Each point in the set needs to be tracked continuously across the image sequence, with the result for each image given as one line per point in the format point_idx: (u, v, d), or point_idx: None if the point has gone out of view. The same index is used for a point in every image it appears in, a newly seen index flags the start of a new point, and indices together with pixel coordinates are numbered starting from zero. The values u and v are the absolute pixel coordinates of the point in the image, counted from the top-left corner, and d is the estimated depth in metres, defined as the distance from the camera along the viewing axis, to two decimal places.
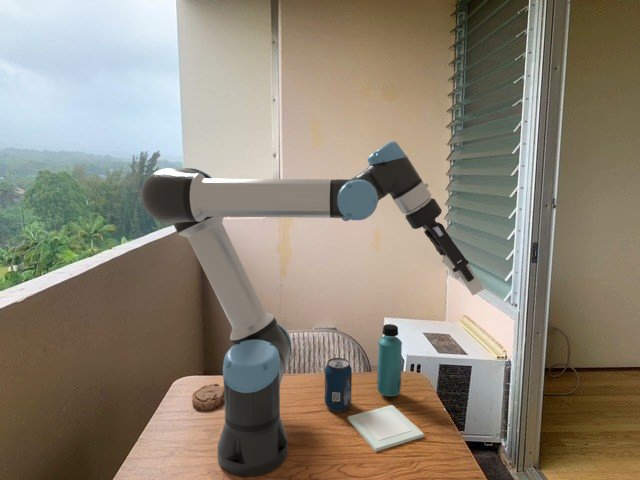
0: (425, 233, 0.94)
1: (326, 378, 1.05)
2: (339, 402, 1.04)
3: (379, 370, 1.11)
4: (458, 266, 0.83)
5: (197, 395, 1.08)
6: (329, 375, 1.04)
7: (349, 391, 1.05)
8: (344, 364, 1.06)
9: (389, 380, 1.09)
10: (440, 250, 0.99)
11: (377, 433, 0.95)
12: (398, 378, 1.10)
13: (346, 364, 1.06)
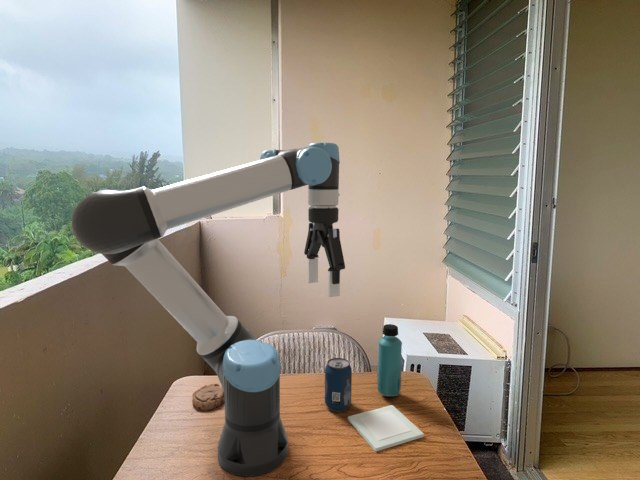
0: (315, 231, 1.04)
1: (326, 378, 1.05)
2: (339, 402, 1.04)
3: (379, 370, 1.11)
4: (337, 267, 0.96)
5: (197, 395, 1.08)
6: (329, 375, 1.04)
7: (349, 391, 1.05)
8: (344, 364, 1.06)
9: (389, 380, 1.09)
10: (311, 253, 1.10)
11: (377, 433, 0.95)
12: (398, 378, 1.10)
13: (346, 364, 1.06)
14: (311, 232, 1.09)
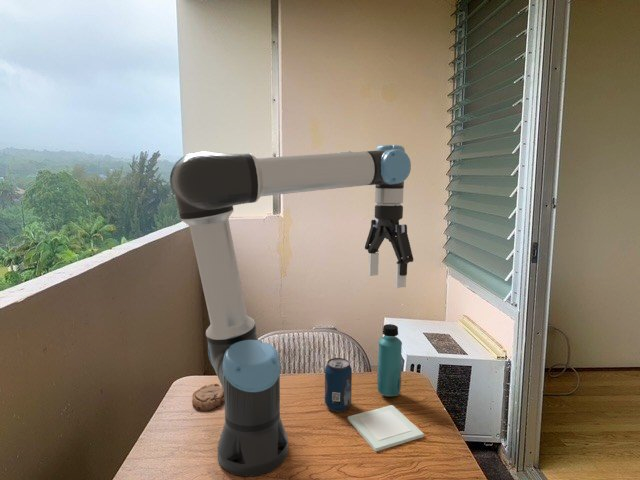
0: (380, 227, 1.12)
1: (326, 378, 1.05)
2: (339, 402, 1.04)
3: (379, 370, 1.11)
4: (406, 259, 1.04)
5: (197, 395, 1.08)
6: (329, 375, 1.04)
7: (349, 391, 1.05)
8: (344, 364, 1.06)
9: (389, 380, 1.09)
10: (373, 247, 1.18)
11: (377, 433, 0.95)
12: (398, 378, 1.10)
13: (346, 364, 1.06)
14: (374, 228, 1.17)
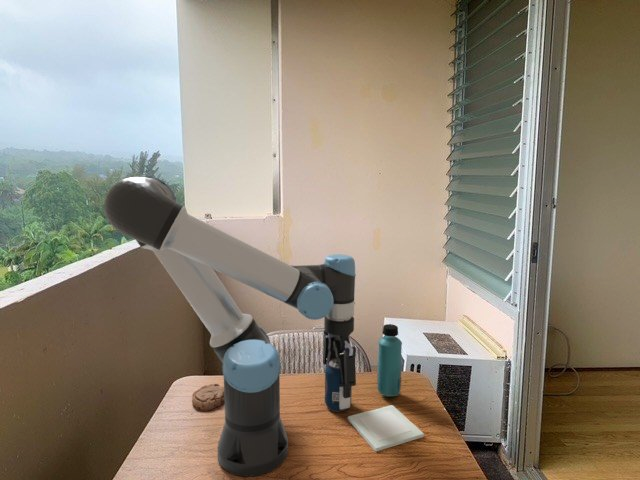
0: (330, 338, 1.05)
1: (326, 378, 1.05)
2: None
3: (379, 370, 1.11)
4: (348, 385, 1.00)
5: (197, 395, 1.08)
6: (329, 375, 1.04)
7: None
8: None
9: (389, 380, 1.09)
10: None
11: (377, 433, 0.95)
12: (398, 378, 1.10)
13: None
14: (327, 339, 1.10)
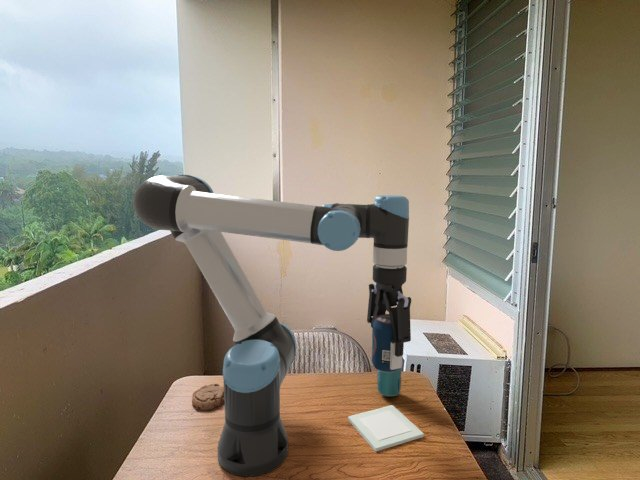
0: (379, 291, 0.93)
1: (375, 335, 0.94)
2: None
3: None
4: (402, 340, 0.88)
5: (197, 395, 1.08)
6: (378, 331, 0.92)
7: None
8: None
9: (389, 380, 1.09)
10: None
11: (377, 433, 0.95)
12: (398, 378, 1.10)
13: None
14: (373, 294, 0.98)
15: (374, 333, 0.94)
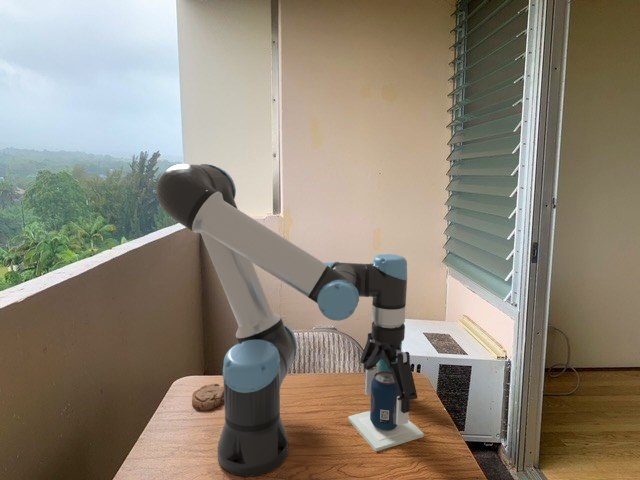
0: (378, 348, 0.95)
1: (373, 394, 0.96)
2: (388, 420, 0.95)
3: (379, 370, 1.11)
4: (409, 398, 0.87)
5: (197, 395, 1.08)
6: (376, 391, 0.95)
7: None
8: (392, 378, 0.97)
9: None
10: (370, 364, 1.02)
11: (377, 433, 0.95)
12: None
13: None
14: (371, 343, 1.01)
15: (372, 392, 0.96)
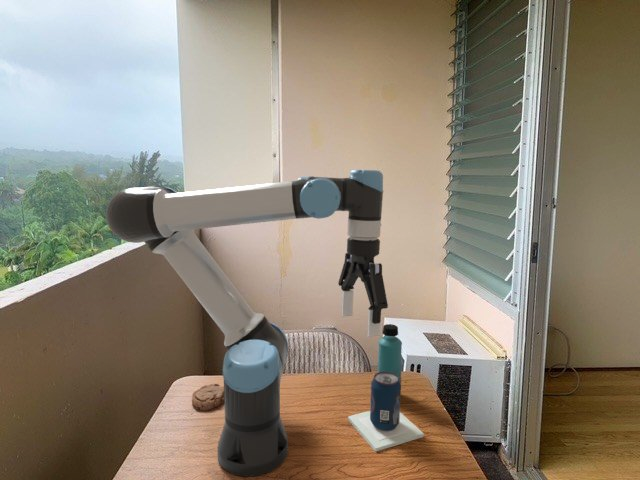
0: (353, 263, 0.96)
1: (373, 394, 0.96)
2: (388, 421, 0.95)
3: (379, 370, 1.11)
4: (379, 306, 0.88)
5: (197, 395, 1.08)
6: (376, 391, 0.95)
7: (398, 409, 0.96)
8: (392, 379, 0.97)
9: None
10: (346, 285, 1.02)
11: (377, 433, 0.95)
12: None
13: (395, 379, 0.97)
14: (348, 263, 1.02)
15: (372, 392, 0.96)
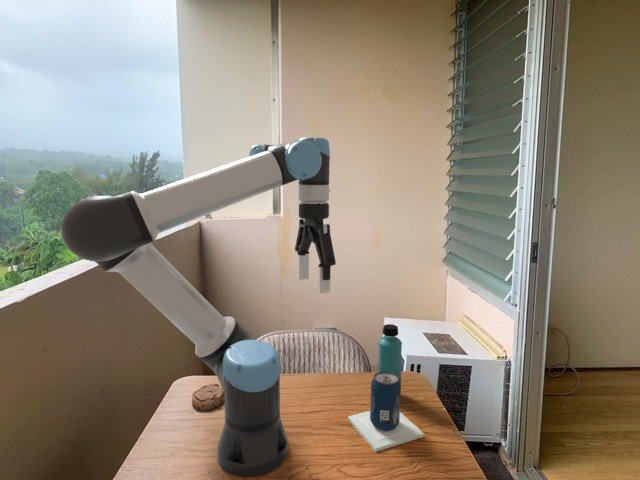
0: (305, 227, 1.03)
1: (373, 394, 0.96)
2: (388, 421, 0.95)
3: (379, 370, 1.11)
4: (327, 262, 0.95)
5: (197, 395, 1.08)
6: (376, 391, 0.95)
7: (398, 409, 0.96)
8: (392, 379, 0.97)
9: None
10: (301, 249, 1.09)
11: (377, 433, 0.95)
12: (398, 378, 1.10)
13: (395, 379, 0.97)
14: (302, 228, 1.08)
15: (372, 392, 0.96)
